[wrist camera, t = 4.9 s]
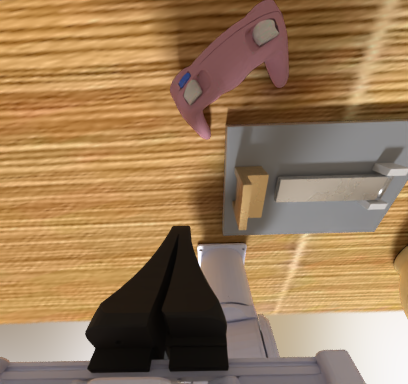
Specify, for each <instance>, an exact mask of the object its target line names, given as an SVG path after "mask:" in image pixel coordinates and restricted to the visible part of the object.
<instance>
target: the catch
mask: <svg viewBox="0 0 408 384" xmlns="http://www.w3.org/2000/svg"><path fill="white" fill-rule="evenodd" d="M234 174H235V176H236V178H237V187H236V199H235V201H232V207H233V211H234V215H235V218H236V222H237V225H238V229H239V230H246V229H247V221H248V218H261V216H262V210H263V205H264V199H265V194H266V188H267V183H268V177H269V174H268V173H267V172H266V171H265V170H264V169H263V168H262V166H249V167H235V171H234Z"/></svg>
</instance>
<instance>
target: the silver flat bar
mask: <svg viewBox="0 0 408 384" xmlns="http://www.w3.org/2000/svg"><path fill="white" fill-rule="evenodd" d="M393 177H394V176H386V175H383V174H364V175H326V176H289V177H278V180H277V185H276V190H275V194H274V200H275V202H314V201H355V200H380V199H381V198H382V196H383V194H384V193H385V191H386V189H387V188H388V186H389V184H390V182H391V181H392V179H393Z"/></svg>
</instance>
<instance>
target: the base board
mask: <svg viewBox="0 0 408 384" xmlns="http://www.w3.org/2000/svg"><path fill="white" fill-rule="evenodd" d="M249 166H262V168H263V169H264V170H265V171H266V172H267V173H268V174H269V177H268V183H267V188H266V194H265V199H264V205H263V210H262V216H261V218H248V221H247V229H246V230H239V229H238V225H237V222H236V218H235V215H234V211H233V207H232V201H235V199H236V187H237V178H236V176H235V174H234V171H235V167H249ZM364 174H383V175H386V176H394V177H393V179H392V181H391V182H390V184H389V186H388V188H387V189H386V191H385V193H384V194H383V196H382V198H381V199H380V200H355V201H314V202H275V200H274V194H275V190H276V185H277V180H278V177H289V176H326V175H364ZM407 180H408V119H390V120H360V121H329V122H298V123H267V124H236V125H226V130H225V160H224V189H223V218H222V231H223V236H229V235H267V234H305V233H342V232H374V231H375V230H376V228H377V226H378V225H379V223H380V222H381V220H382V219H383V217H384V216H385V214H386V213H387V211H388V210H389V208H390V206H391V205H392V203H393V202H394V200H395V199H396V197H397V196H398V194H399V193H400V191H401V190H402V188H403V186H404V185H405V183H406V182H407Z"/></svg>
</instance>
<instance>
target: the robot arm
mask: <svg viewBox="0 0 408 384" xmlns="http://www.w3.org/2000/svg"><path fill="white" fill-rule="evenodd" d="M246 247H247V246H246V244H245V243H227V244H199V245H198V246H197V250H198V261H197V258H196V255H195V252H194V249H193V246H192V242H191V231H190V226H173V227H172V228H171V230H170V232H169V234H168V235H167V237H166V238H165V240H164V241H163V243H162V244H161V246H160V247H159V249H158V250H157V251H156V252H155V254H154V255H153V256H152V257H151V259H150V260H149V261H148V262H147V263H146V264H145V265H144V267H143V268H142V269H141V270H140V271H139V272H138V273H137V274H136V275H135V276H134V277H133V278H131V279H130V280H129V281H128V282H127V283H126V284H125V285H123V286H122V287H121V288H120V289H119V290H118V291H116V292H115V293H114V294H112V295H111V296H110V297H109V298H107V299H106V300H105V301H103V302H102V303H101V304H100V306H99V307H98V309H97V311H96V312H95V314H94V316H93V318H92V320H91V322H90V324H89V326H88V328H87V330H86V333H85V335H86V337H87V339H88V340H89V341H90V342H91V344H92V345H93V346H94V347H95V348H96V349H95V351H94V354H93V356H92V358H91V360H90V361H61V362H9V360H7V359H5V358H3V357H0V384H366V383H365V382H364V380H363V378H362V376H361V375H360V373H359V371H358V369H357V368H356V366H355V364H354V362H353V361H352V359H351V357H350V355H349V354H348V352H347V351H345V350H323V351H319V352H318V353H317V354H316V356H315V357H283V358H281V357H280V356H279V353H278V349H277V346H276V343H275V339H274V336H273V333H272V329H271V326H270V323H269V320H268V319H267V318H266V317H264V315H263V314H258V316H257V313H256V310H255V307H254V304H253V300H252V296H251V291H250V287H249V283H248V279H247V275H246V271H245V267H244V261H245V254H246ZM258 318H259V319H258ZM259 322H260V323H259ZM181 382H184V383H181Z"/></svg>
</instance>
